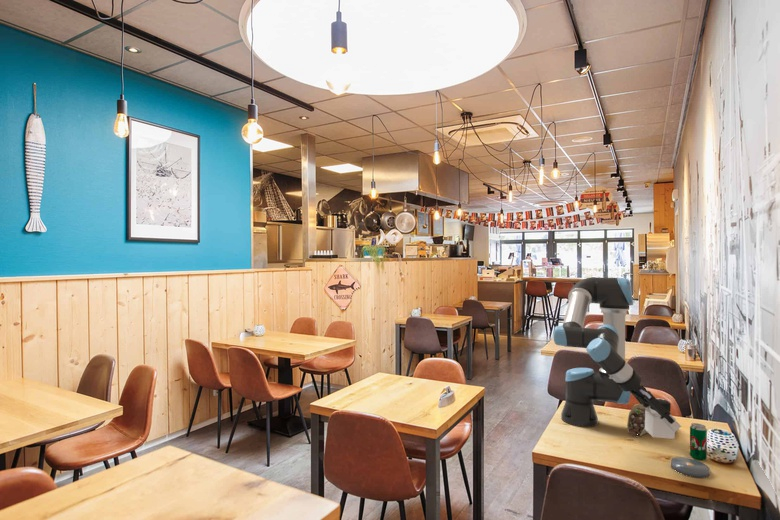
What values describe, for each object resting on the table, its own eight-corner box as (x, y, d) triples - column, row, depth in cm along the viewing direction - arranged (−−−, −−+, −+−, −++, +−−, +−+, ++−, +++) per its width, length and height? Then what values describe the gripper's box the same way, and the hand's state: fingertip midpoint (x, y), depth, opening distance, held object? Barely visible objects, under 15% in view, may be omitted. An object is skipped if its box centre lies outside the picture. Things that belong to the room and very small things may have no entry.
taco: (621, 433, 183) (621, 409, 183) (649, 420, 199) (650, 397, 199) (645, 441, 175) (645, 416, 175) (673, 426, 191) (673, 403, 191)
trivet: (667, 460, 157) (667, 455, 157) (702, 465, 154) (702, 459, 154) (676, 474, 147) (676, 468, 147) (714, 480, 143) (714, 473, 143)
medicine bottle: (675, 439, 148) (676, 404, 148) (652, 437, 149) (653, 402, 149) (666, 431, 155) (667, 397, 155) (644, 429, 156) (645, 396, 156)
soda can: (703, 456, 161) (704, 423, 161) (708, 462, 157) (709, 428, 157) (687, 454, 163) (688, 421, 163) (692, 459, 158) (692, 426, 158)
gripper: (602, 375, 163) (645, 420, 163) (632, 392, 142) (681, 443, 142) (617, 361, 163) (659, 406, 163) (649, 376, 142) (698, 427, 142)
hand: (669, 423), depth 152 cm, fingers closed on medicine bottle, 8 cm apart
